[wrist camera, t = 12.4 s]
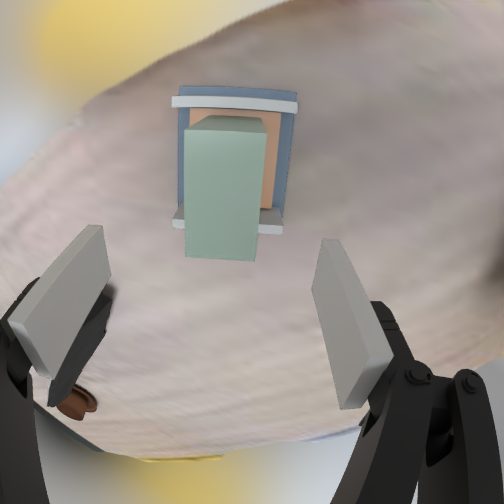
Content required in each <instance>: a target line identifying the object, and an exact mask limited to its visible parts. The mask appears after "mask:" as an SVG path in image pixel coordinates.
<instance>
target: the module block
mask: <svg viewBox="0 0 504 504" xmlns="http://www.w3.org/2000/svg"><path fill="white" fill-rule="evenodd" d="M266 139H267V132H266V130H265V127H264V125H263V122H262V120H261V118H260V117H246V116H228V115H209V116H207V117H205V118H204V119H202V120H200V121H198V122H197V123H195V124H193V125H192V126H190V127H188V128H187V129H185V130H184V224H185V253H186V257H196V258H211V259H226V260H242V261H255V257H256V246H257V236H258V225H259V214H260V204H261V193H262V182H263V172H264V161H265V150H266Z"/></svg>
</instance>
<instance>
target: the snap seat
mask: <svg viewBox="0 0 504 504" xmlns="http://www.w3.org/2000/svg"><path fill="white" fill-rule="evenodd" d="M209 115H228V116H246V117H260V118H261V120H262V122H263V125H264V127H265V130H266V132H267V139H266V150H265V161H264V172H263V182H262V193H261V204H260V208H267V209H271V208H272V199H273V190H274V180H275V171H276V162H277V152H278V142H279V132H280V122H281V112H272V111H261V110H247V109H229V108H190V123H189V127H190V126H192V125H193V124H195V123H197V122H198V121H200V120H202V119H204V118H205V117H207V116H209Z"/></svg>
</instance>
